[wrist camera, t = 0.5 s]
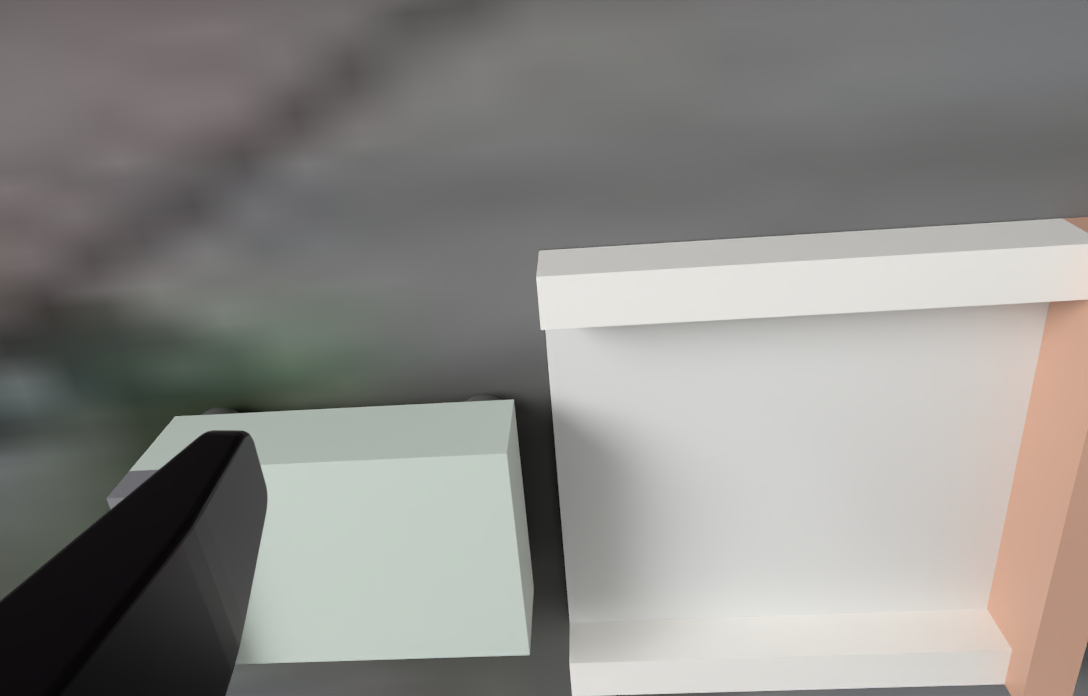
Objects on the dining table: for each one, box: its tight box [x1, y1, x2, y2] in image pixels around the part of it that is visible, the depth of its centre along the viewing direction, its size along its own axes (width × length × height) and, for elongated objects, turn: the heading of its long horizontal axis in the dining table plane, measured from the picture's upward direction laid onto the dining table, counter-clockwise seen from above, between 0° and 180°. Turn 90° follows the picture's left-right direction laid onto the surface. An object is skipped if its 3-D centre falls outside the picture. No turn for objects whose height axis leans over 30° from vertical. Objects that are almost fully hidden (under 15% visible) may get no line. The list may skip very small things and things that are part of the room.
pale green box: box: [106, 394, 534, 664], centre depth 24 cm, size 10×7×5 cm
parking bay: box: [536, 217, 1088, 696], centre depth 25 cm, size 16×15×3 cm
